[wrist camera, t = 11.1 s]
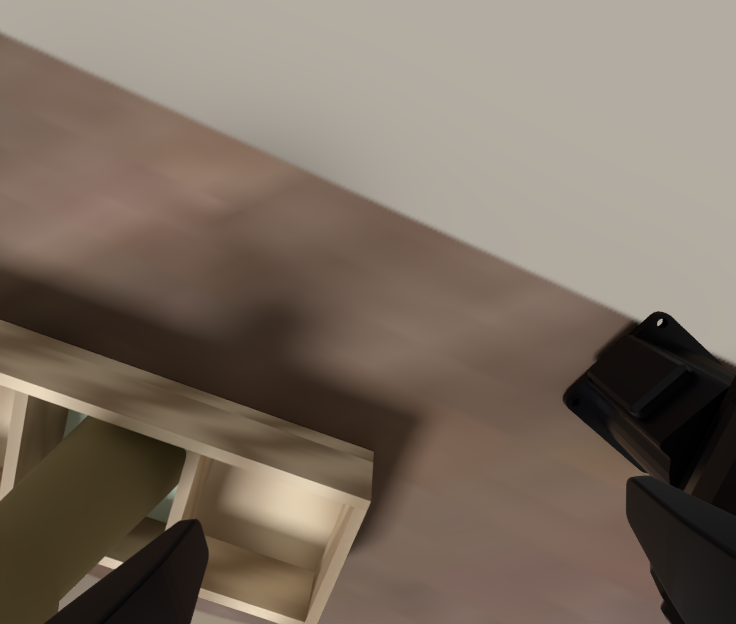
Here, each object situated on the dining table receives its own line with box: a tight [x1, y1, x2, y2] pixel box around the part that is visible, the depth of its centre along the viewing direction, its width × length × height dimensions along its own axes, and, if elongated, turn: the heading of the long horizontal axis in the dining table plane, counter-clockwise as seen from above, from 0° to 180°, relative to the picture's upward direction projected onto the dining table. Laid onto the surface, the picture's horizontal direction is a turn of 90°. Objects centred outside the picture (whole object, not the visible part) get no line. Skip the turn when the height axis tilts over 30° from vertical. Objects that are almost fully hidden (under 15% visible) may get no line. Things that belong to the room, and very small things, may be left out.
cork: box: [0, 415, 186, 624], centre depth 17 cm, size 6×6×11 cm
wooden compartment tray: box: [0, 320, 374, 624], centre depth 22 cm, size 25×9×4 cm, turn 70°
